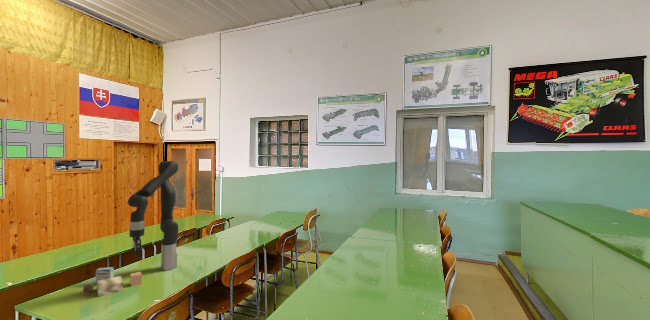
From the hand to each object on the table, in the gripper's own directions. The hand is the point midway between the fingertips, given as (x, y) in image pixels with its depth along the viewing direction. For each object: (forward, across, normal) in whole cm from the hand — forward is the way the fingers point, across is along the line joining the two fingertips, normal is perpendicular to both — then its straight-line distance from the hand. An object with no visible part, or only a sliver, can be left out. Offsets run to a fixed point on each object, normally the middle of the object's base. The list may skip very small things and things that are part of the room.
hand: (136, 254), depth 166 cm
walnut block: (+18, +4, +22) cm, 29 cm away
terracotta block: (+18, 0, 0) cm, 18 cm away
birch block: (+18, 0, +12) cm, 22 cm away
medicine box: (+18, +14, +14) cm, 27 cm away
